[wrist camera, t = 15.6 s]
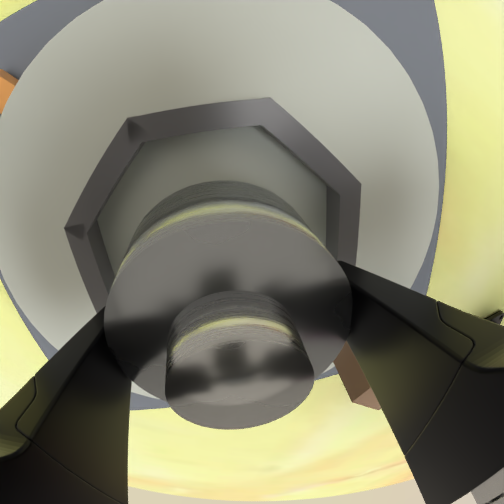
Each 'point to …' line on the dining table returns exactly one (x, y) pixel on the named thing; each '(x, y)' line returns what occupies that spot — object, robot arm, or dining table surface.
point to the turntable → (207, 143)
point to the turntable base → (356, 3)
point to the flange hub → (227, 305)
